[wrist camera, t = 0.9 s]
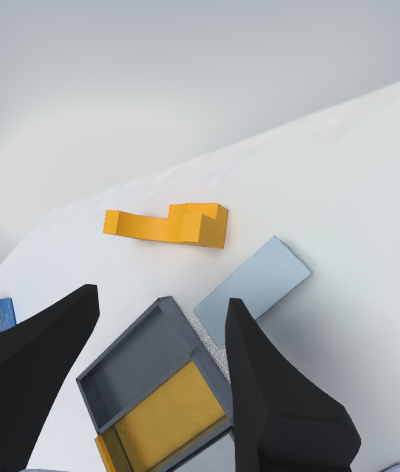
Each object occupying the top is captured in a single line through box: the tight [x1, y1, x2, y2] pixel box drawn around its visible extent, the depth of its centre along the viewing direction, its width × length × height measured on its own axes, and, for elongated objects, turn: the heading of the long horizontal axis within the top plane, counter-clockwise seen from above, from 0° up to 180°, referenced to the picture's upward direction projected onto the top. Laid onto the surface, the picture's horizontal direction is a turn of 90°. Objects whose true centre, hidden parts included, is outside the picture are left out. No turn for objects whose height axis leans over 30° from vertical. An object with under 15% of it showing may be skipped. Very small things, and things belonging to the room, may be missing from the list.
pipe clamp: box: [103, 203, 228, 248], centre depth 27 cm, size 12×4×6 cm, turn 82°
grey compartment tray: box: [76, 296, 235, 472], centre depth 26 cm, size 20×16×3 cm
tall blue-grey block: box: [193, 236, 313, 349], centre depth 23 cm, size 4×10×5 cm, turn 130°
